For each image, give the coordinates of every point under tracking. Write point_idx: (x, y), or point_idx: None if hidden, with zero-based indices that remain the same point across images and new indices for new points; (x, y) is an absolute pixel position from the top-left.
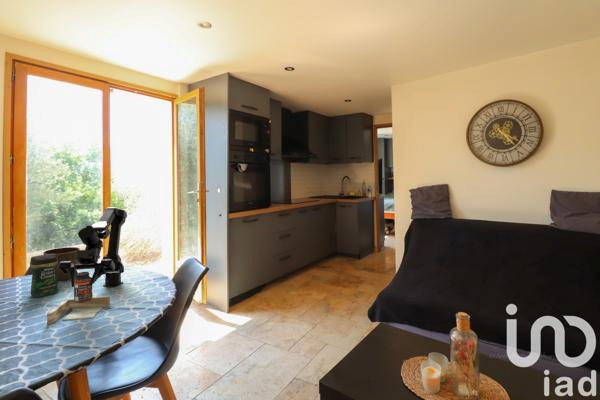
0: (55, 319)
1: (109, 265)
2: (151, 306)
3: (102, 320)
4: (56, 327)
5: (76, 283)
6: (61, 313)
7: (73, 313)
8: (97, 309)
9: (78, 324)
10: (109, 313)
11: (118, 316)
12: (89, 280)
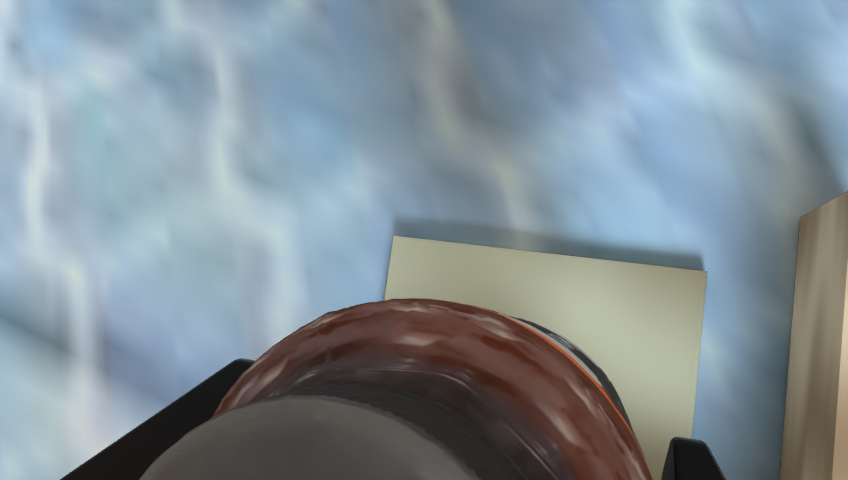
0: (800, 296)
1: None
2: None
3: (301, 141)
4: (707, 108)
5: (538, 336)
6: (791, 453)
7: (640, 432)
8: None
9: (500, 116)
10: (262, 298)
11: (179, 188)
12: (220, 404)
